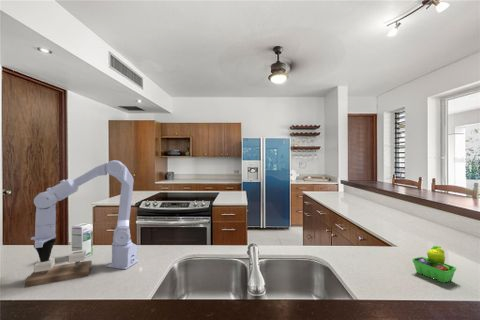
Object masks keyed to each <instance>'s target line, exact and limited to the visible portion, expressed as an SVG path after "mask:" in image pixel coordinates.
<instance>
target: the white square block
mask: <svg viewBox="0 0 480 320" xmlns="http://www.w3.org/2000/svg"><path fill="white" fill-rule="evenodd" d="M86 258H87V257H86V250H79V251H72V250H71V252H70V253H69V255H68V264H71V263H75V262H78V261H80V262H84V261H85V259H86Z"/></svg>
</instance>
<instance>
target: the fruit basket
mask: <svg viewBox="0 0 480 320" xmlns="http://www.w3.org/2000/svg"><path fill="white" fill-rule="evenodd" d="M411 260H412V263H413V265H414V267H415V268H414V269H415V271H416V273H417V272H418V273H417V274H419V273H420V274H419V275H422V274H423V275H422V276H424V275H425V276H424V277H426V276H429V277H431V278H434V279H437V280H439V281H441V282H440V283H442V282H444V283H443V284H446V283H445V282H447V283H449V282H451V281H450V280H452V281H453V277H454V275H455V272H456V270H457V267H456V266H453V265H450V264H448V263H447V264H446V263H445V261H446V256H445V251H444V249H443V248H442V247H441V246H438V245H433V246H432V247H431V248H430V249H429V250H428V251H427V252H426V257H425V256H420V257H419V256H418V257H415V258H412V259H411ZM429 277H428V278H429ZM431 278H430V279H431ZM434 279H433V280H434ZM437 280H436V281H437ZM439 281H438V282H439ZM448 281H449V282H448Z"/></svg>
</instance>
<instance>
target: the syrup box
mask: <svg viewBox="0 0 480 320" xmlns="http://www.w3.org/2000/svg"><path fill="white" fill-rule="evenodd" d="M93 229H94V228H93V223H89V222H86V223H85V222H84V223H83V222H82V223H80V224H75V225H73V226H71V252H72V251H79V250H86V257H85V258H87V257H90V256H92V255H94V254H93V253H94V250H93V249H94V247H93V246H94V245H93V244H94V241H93V239H94V236H93V235H94V234H93V233H94V231H93Z"/></svg>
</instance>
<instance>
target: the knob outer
mask: <svg viewBox="0 0 480 320" xmlns="http://www.w3.org/2000/svg"><path fill="white" fill-rule="evenodd" d="M55 260H56V259H55V257H50V258H49V260H48V261H45V262H41V261H40V259H39V260H37V262H36V263H35V264H34V270H33V272H40V271H46V270H51V269H52V267H53V266H56V265H55V263H56V262H55Z"/></svg>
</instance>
